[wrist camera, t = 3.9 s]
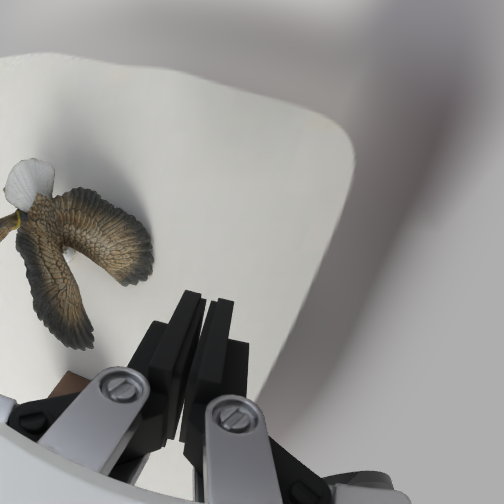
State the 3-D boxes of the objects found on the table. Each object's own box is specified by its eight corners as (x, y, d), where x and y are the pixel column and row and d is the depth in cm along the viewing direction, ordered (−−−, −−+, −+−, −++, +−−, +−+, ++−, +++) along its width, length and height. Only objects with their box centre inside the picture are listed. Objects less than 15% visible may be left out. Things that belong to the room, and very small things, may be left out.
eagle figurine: (16, 266, 16) (101, 354, 16) (-48, 234, 9) (43, 363, 9) (80, 181, 18) (173, 255, 18) (38, 121, 11) (154, 209, 11)
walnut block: (119, 390, 20) (95, 435, 15) (122, 425, 22) (104, 465, 17) (67, 370, 20) (39, 407, 15) (75, 406, 22) (53, 442, 17)
